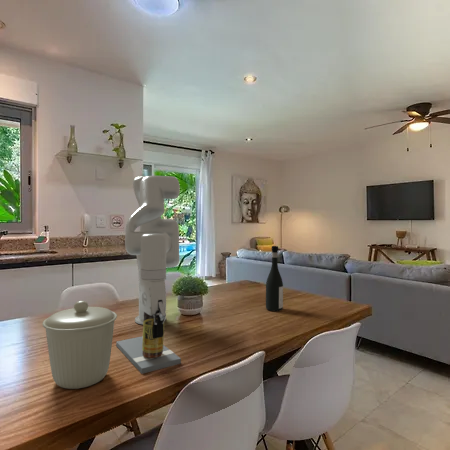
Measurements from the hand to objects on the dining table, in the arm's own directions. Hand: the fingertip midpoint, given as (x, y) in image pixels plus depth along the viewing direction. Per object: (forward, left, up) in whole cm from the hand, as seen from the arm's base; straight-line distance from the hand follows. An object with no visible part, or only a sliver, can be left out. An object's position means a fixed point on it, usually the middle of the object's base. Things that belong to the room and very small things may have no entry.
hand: (153, 333), depth 101 cm
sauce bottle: (0, 0, -7) cm, 7 cm away
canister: (+1, -21, -9) cm, 22 cm away
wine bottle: (-22, +69, -9) cm, 73 cm away
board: (-6, 0, -8) cm, 10 cm away
